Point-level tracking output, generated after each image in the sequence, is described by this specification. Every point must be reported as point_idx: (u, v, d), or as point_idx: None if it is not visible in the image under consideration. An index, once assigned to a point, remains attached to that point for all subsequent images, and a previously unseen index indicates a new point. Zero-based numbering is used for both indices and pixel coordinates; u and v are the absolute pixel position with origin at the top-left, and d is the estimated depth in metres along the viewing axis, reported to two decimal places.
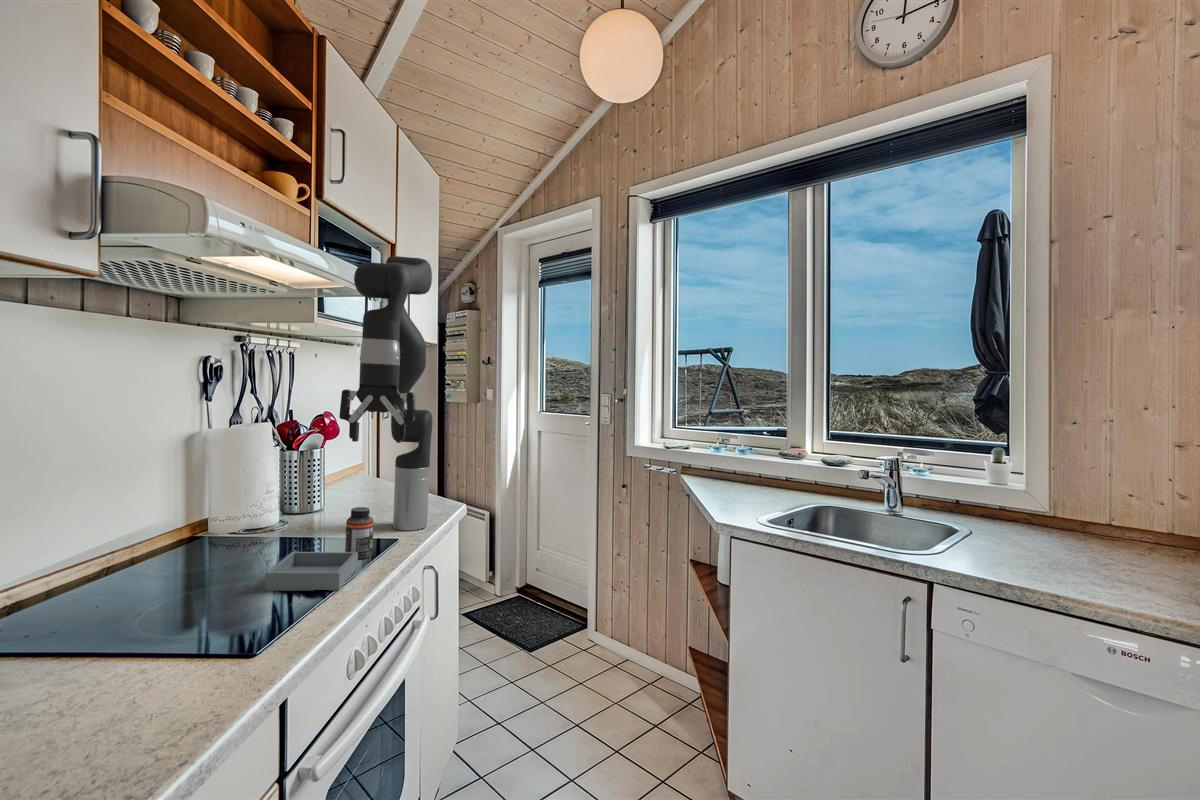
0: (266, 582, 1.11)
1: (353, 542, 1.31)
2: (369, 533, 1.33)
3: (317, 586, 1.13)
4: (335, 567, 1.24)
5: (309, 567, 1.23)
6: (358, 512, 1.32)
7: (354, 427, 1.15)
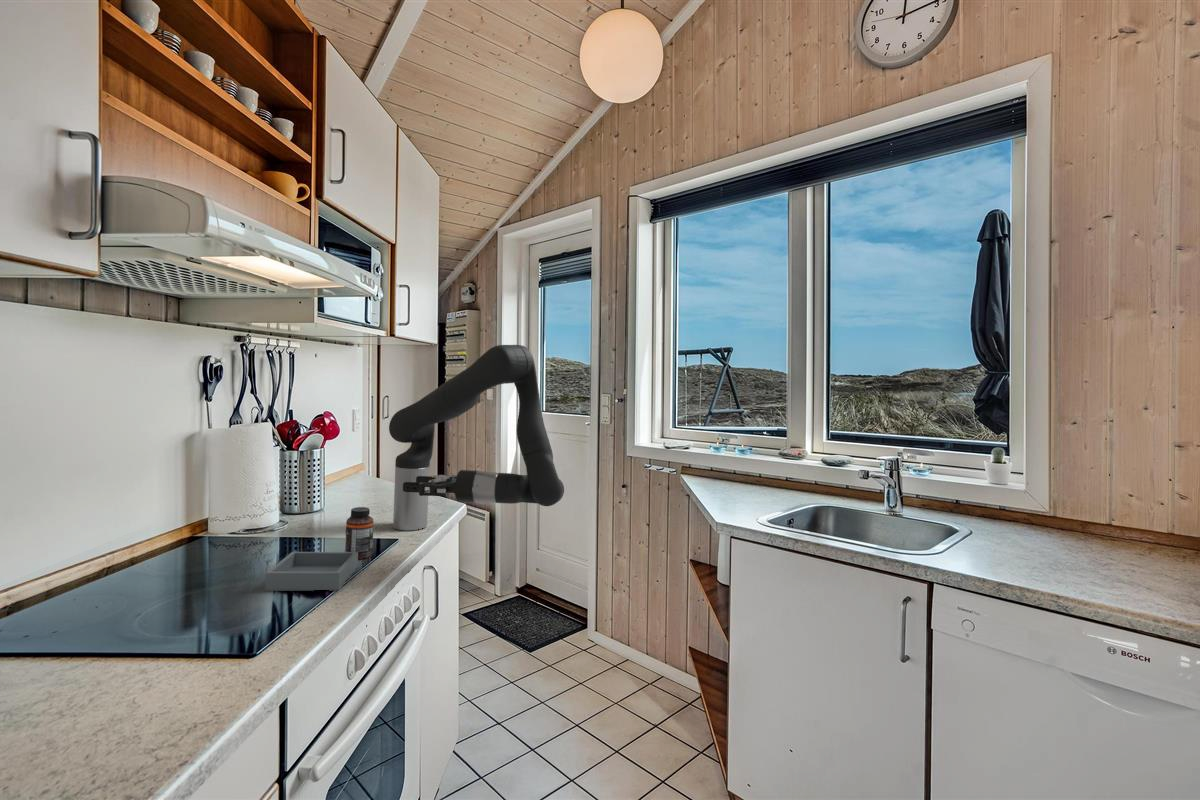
0: (266, 582, 1.11)
1: (353, 542, 1.31)
2: (369, 533, 1.33)
3: (317, 586, 1.13)
4: (335, 567, 1.24)
5: (309, 567, 1.23)
6: (358, 512, 1.32)
7: (415, 492, 1.31)
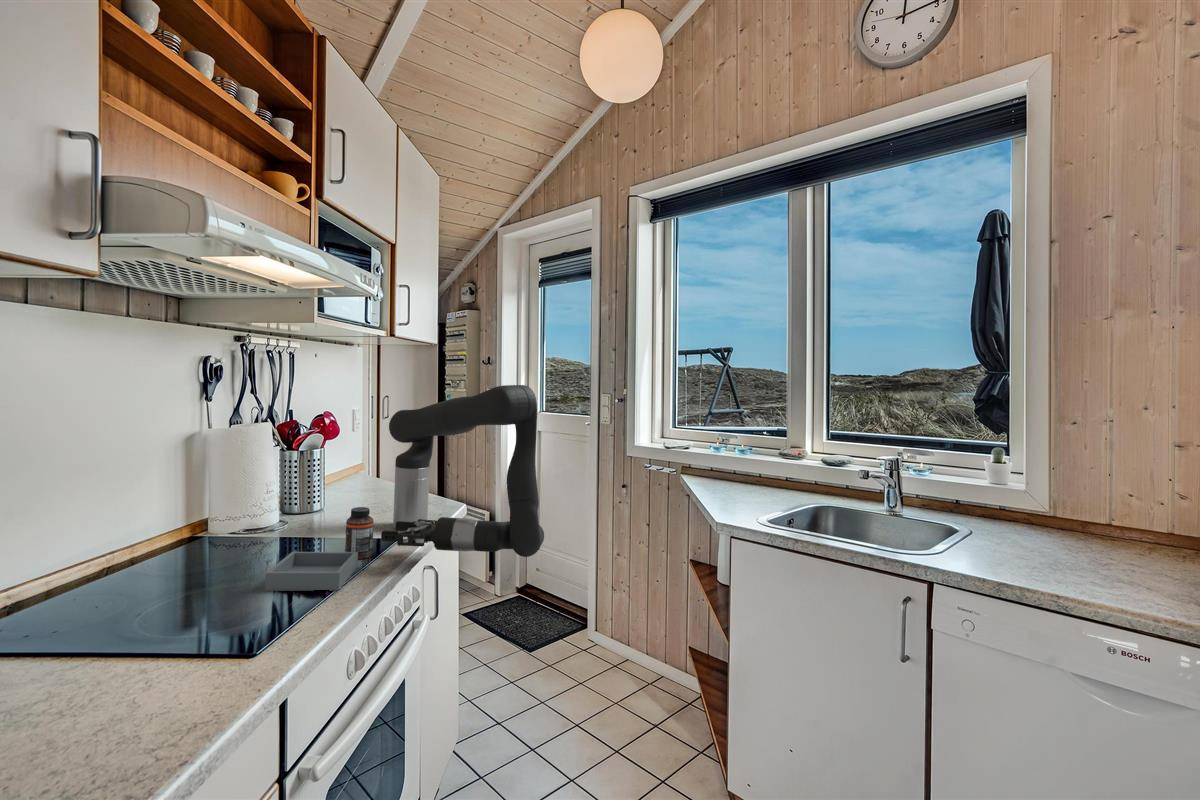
0: (266, 582, 1.11)
1: (353, 542, 1.31)
2: (369, 533, 1.33)
3: (317, 586, 1.13)
4: (335, 567, 1.24)
5: (309, 567, 1.23)
6: (358, 512, 1.32)
7: None
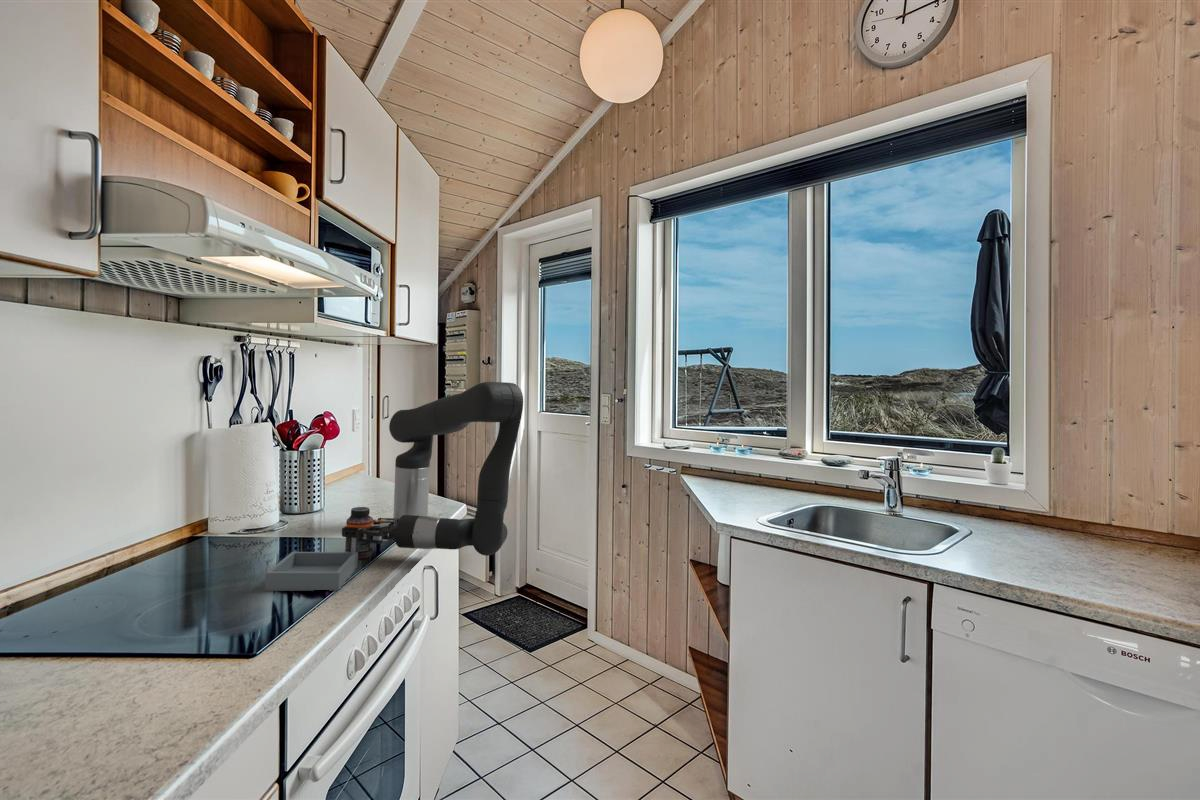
0: (266, 582, 1.11)
1: (353, 542, 1.31)
2: None
3: (317, 586, 1.13)
4: (335, 567, 1.24)
5: (309, 567, 1.23)
6: (358, 512, 1.32)
7: None
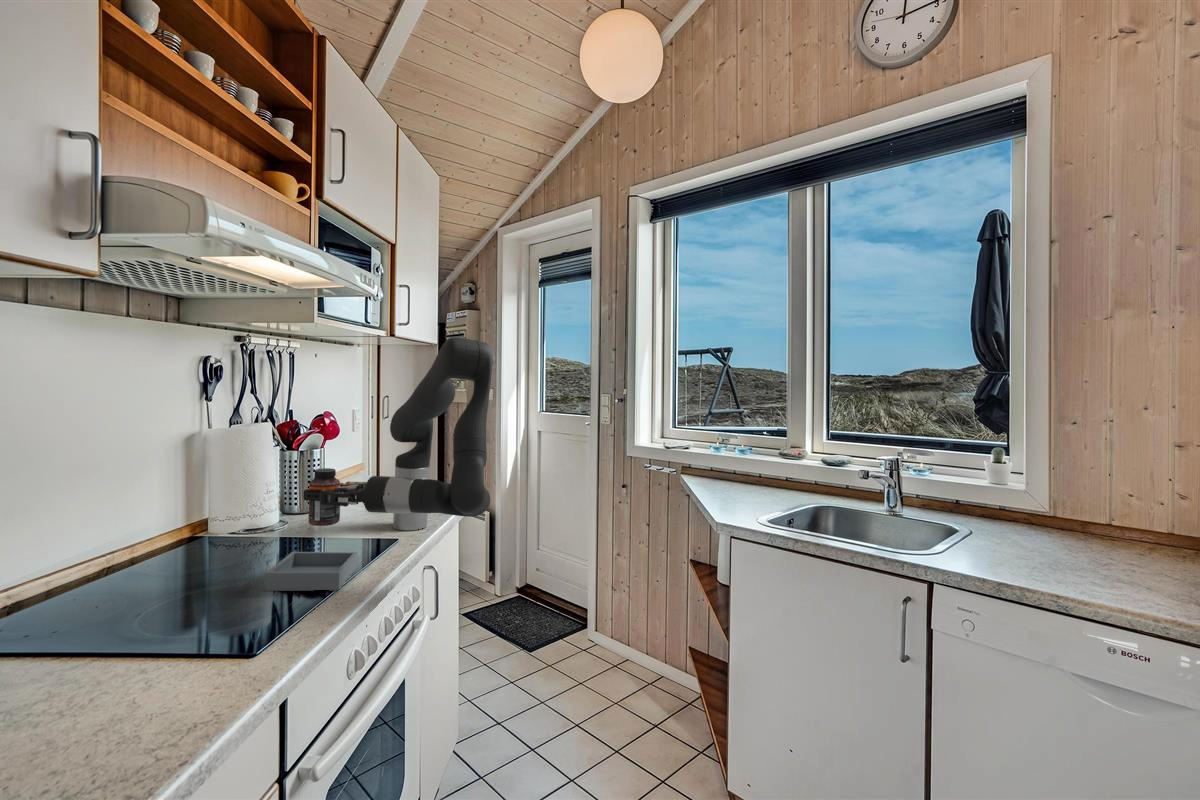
0: (266, 582, 1.11)
1: (317, 506, 1.17)
2: None
3: (317, 586, 1.13)
4: (335, 567, 1.24)
5: (309, 567, 1.23)
6: (322, 473, 1.18)
7: (318, 500, 1.17)
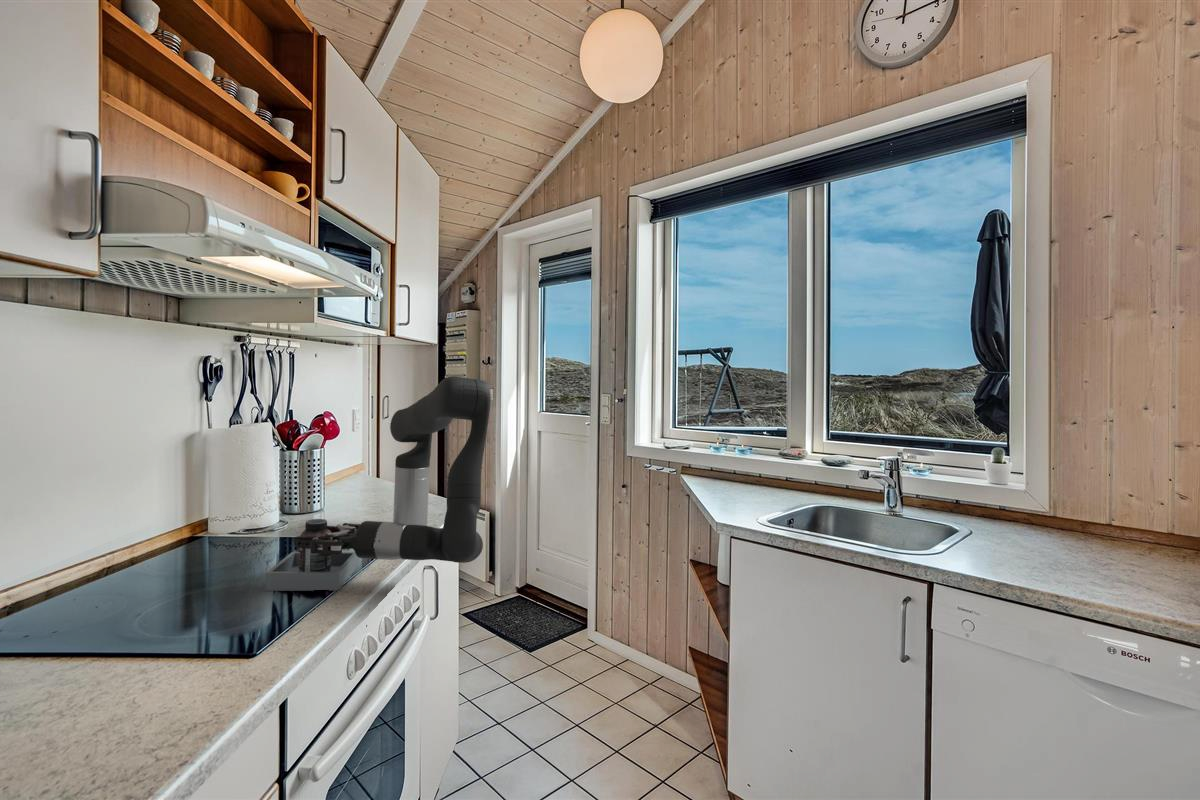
0: (266, 582, 1.11)
1: (307, 559, 1.16)
2: None
3: (317, 586, 1.13)
4: (335, 567, 1.24)
5: None
6: (313, 525, 1.16)
7: None
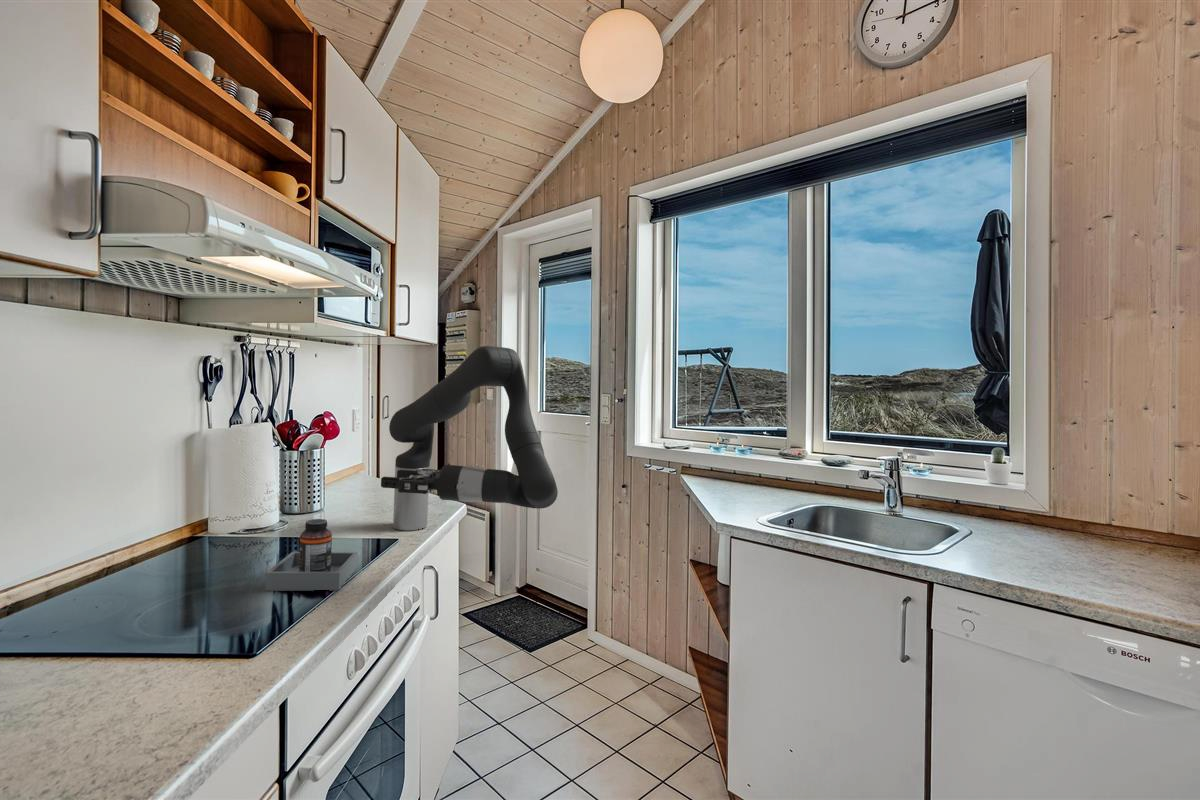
0: (266, 582, 1.11)
1: (307, 559, 1.16)
2: (326, 549, 1.18)
3: (317, 586, 1.13)
4: (335, 567, 1.24)
5: None
6: (313, 525, 1.16)
7: (395, 488, 1.19)
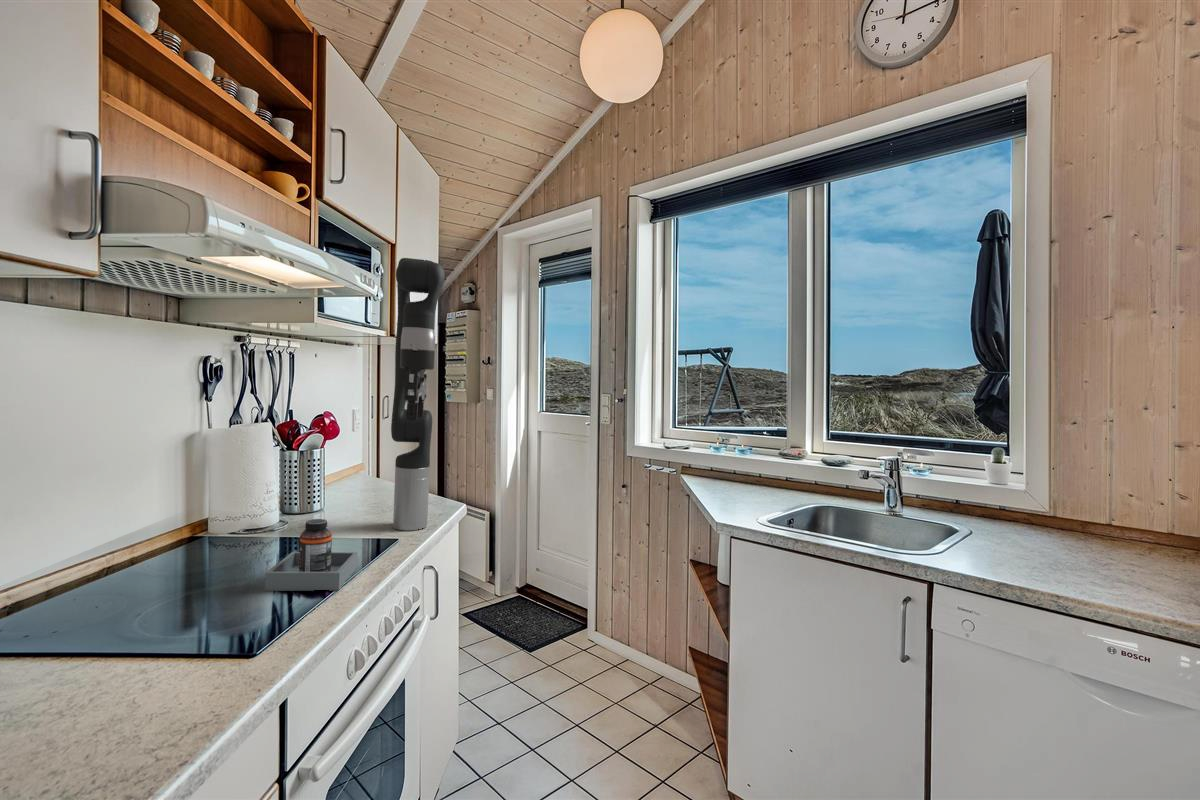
0: (266, 582, 1.11)
1: (307, 559, 1.16)
2: (326, 549, 1.18)
3: (317, 586, 1.13)
4: (335, 567, 1.24)
5: None
6: (313, 525, 1.16)
7: (417, 407, 1.28)
